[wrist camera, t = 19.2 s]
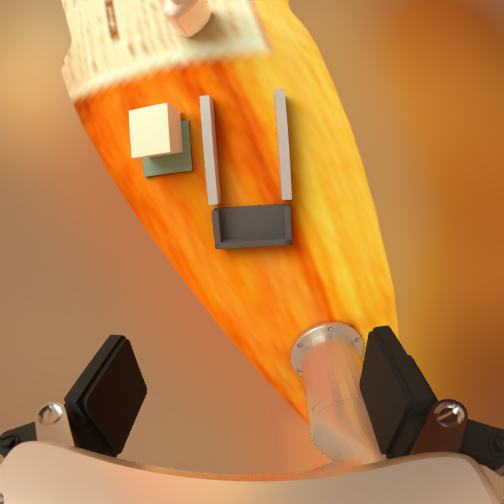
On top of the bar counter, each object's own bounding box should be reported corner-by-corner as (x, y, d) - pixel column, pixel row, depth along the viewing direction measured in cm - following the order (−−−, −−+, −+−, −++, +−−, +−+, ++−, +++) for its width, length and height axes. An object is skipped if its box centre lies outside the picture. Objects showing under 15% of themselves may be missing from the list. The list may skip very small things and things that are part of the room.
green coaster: (192, 170, 37) (191, 170, 37) (145, 176, 38) (144, 176, 37) (188, 120, 35) (187, 119, 35) (141, 128, 36) (139, 128, 35)
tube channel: (289, 196, 38) (291, 199, 35) (212, 201, 39) (208, 204, 36) (282, 94, 34) (284, 89, 31) (204, 100, 34) (199, 96, 31)
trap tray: (290, 239, 40) (291, 244, 38) (218, 243, 41) (215, 249, 38) (288, 203, 38) (290, 206, 36) (214, 208, 39) (211, 211, 37)
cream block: (182, 152, 36) (170, 151, 31) (148, 157, 36) (131, 158, 31) (180, 109, 34) (167, 102, 29) (145, 115, 34) (128, 111, 29)
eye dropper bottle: (219, 24, 30) (203, -18, 19) (182, 41, 31) (154, 5, 20) (207, 5, 29) (189, -38, 18) (172, 21, 30) (143, -16, 19)
